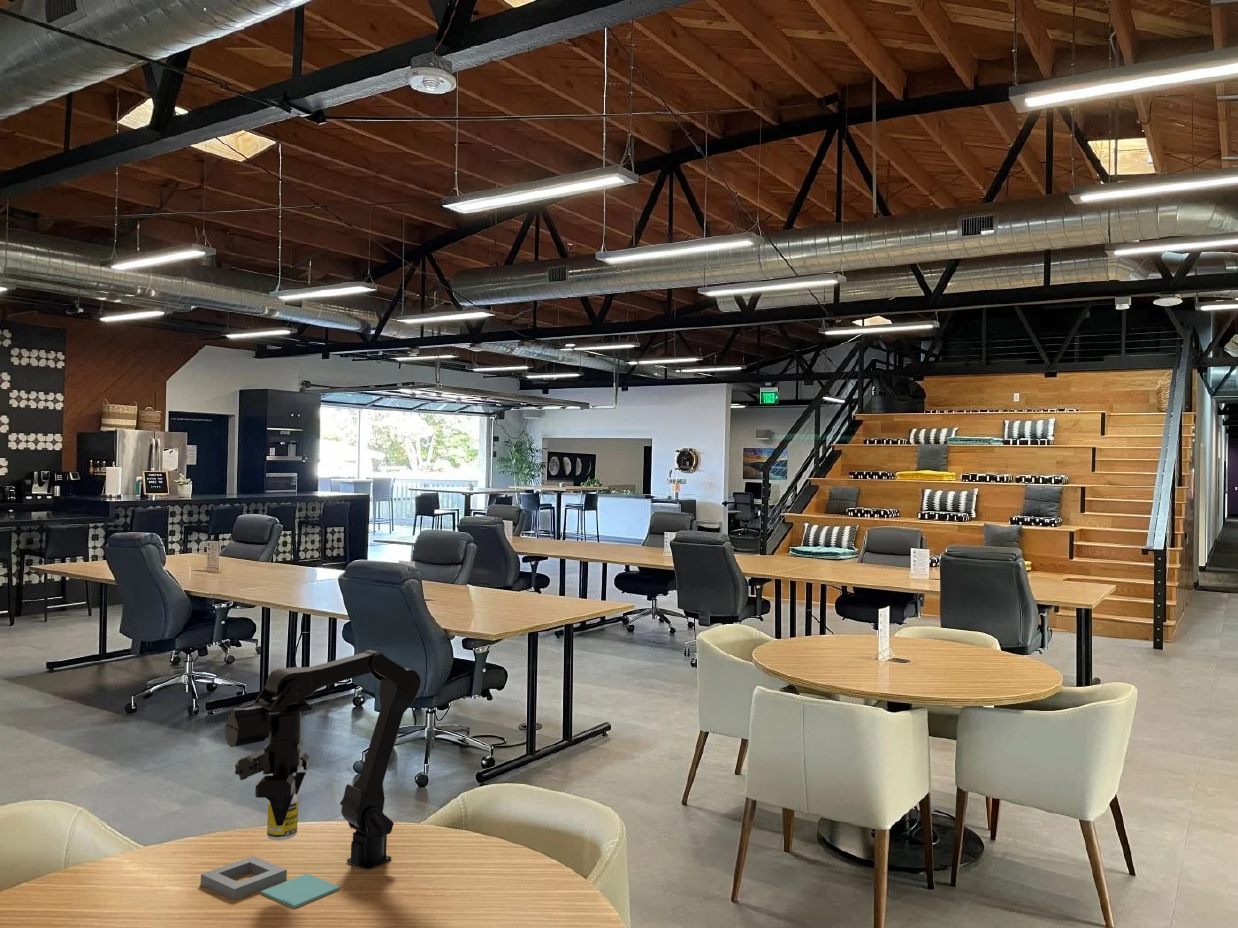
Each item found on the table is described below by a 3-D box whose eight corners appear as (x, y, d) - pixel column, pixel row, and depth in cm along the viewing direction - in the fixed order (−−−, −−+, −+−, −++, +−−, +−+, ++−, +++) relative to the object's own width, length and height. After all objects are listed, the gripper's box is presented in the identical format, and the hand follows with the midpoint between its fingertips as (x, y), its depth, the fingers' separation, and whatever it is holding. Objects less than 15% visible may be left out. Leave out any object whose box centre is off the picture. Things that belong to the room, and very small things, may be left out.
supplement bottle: (286, 842, 166) (287, 789, 166) (260, 839, 167) (262, 786, 168) (303, 831, 171) (304, 780, 172) (278, 829, 173) (279, 778, 173)
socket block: (252, 865, 179) (253, 855, 179) (286, 879, 172) (286, 869, 172) (200, 884, 169) (200, 873, 170) (234, 900, 163) (234, 888, 163)
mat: (306, 875, 174) (306, 873, 174) (339, 889, 169) (339, 886, 169) (261, 893, 166) (261, 890, 166) (294, 908, 160) (294, 905, 160)
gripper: (252, 725, 178) (251, 804, 177) (226, 752, 160) (224, 840, 159) (310, 723, 180) (309, 802, 179) (291, 750, 161) (289, 837, 161)
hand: (283, 819), depth 169 cm, fingers closed on supplement bottle, 5 cm apart
